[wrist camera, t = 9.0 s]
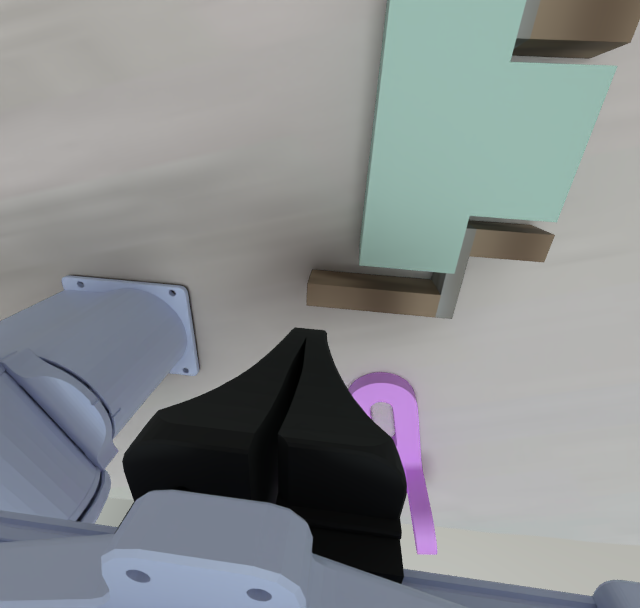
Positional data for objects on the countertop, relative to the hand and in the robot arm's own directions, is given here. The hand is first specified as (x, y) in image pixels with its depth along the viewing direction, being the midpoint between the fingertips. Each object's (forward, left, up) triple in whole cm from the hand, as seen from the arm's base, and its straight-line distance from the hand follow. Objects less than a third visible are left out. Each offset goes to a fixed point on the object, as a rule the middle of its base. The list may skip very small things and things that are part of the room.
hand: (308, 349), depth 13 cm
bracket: (+6, -14, -10) cm, 19 cm away
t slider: (+6, +8, -9) cm, 14 cm away
